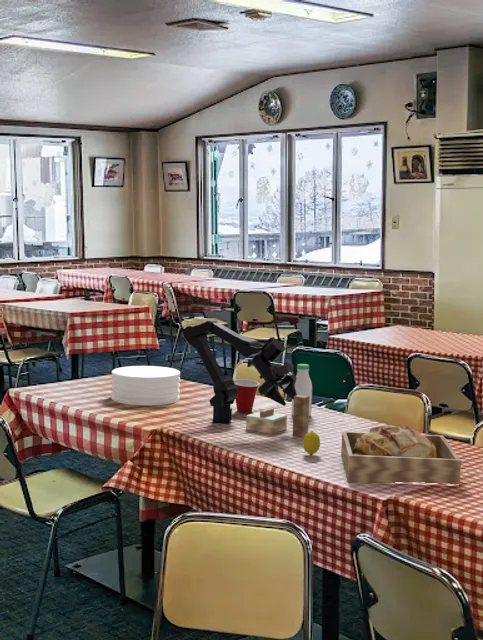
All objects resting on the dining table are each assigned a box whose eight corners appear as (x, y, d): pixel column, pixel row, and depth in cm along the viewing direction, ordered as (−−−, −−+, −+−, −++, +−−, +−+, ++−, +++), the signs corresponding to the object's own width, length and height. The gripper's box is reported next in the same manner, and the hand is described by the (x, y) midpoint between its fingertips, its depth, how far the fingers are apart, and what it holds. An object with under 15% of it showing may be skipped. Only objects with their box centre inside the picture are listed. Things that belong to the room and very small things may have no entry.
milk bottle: (309, 418, 354) (311, 366, 352) (289, 416, 356) (291, 365, 354) (312, 414, 362) (314, 363, 360) (292, 412, 363) (294, 362, 361)
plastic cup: (247, 415, 355) (248, 385, 354) (225, 411, 362) (226, 381, 360) (264, 411, 364) (265, 381, 362) (242, 407, 370) (243, 377, 369)
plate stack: (192, 398, 387) (193, 371, 385) (151, 408, 363) (152, 380, 362) (140, 389, 401) (140, 363, 400) (97, 399, 378) (97, 371, 377)
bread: (345, 462, 298) (343, 417, 296) (430, 459, 297) (429, 413, 295) (352, 486, 273) (350, 436, 271) (445, 482, 272) (444, 432, 270)
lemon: (301, 453, 302) (302, 429, 301) (318, 453, 302) (319, 429, 301) (303, 457, 296) (304, 433, 295) (320, 457, 297) (321, 433, 296)
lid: (246, 417, 332) (246, 409, 332) (260, 413, 340) (261, 405, 340) (272, 422, 326) (273, 414, 326) (286, 417, 335) (287, 409, 334)
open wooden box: (246, 429, 332) (246, 417, 332) (260, 424, 341) (260, 413, 340) (272, 434, 327) (272, 422, 326) (286, 428, 335) (286, 417, 335)
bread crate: (347, 482, 270) (348, 455, 269) (341, 455, 300) (342, 431, 299) (459, 487, 268) (461, 460, 268) (441, 459, 299) (443, 435, 298)
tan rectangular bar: (292, 435, 326) (293, 396, 324) (298, 433, 329) (299, 394, 327) (302, 437, 324) (303, 397, 322) (307, 434, 327) (309, 396, 325)
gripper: (266, 357, 320) (293, 393, 316) (293, 352, 336) (318, 385, 331) (246, 377, 325) (272, 412, 321) (273, 371, 341) (298, 404, 336)
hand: (291, 403), depth 327 cm, fingers open, 9 cm apart
